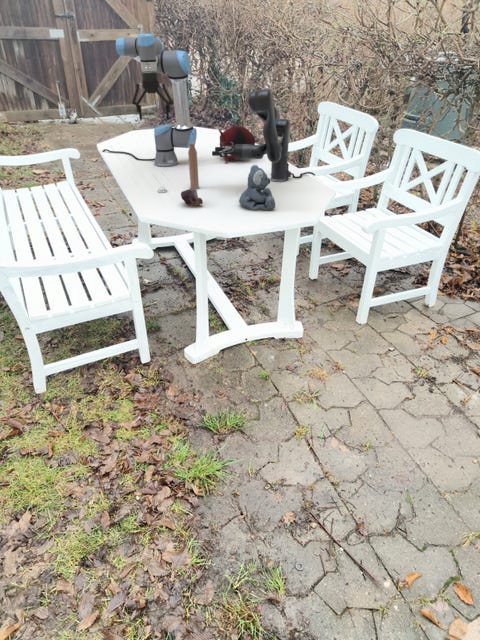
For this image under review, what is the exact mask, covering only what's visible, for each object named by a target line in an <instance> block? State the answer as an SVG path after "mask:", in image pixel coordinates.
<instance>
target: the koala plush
mask: <svg viewBox="0 0 480 640" xmlns="http://www.w3.org/2000/svg"><path fill="white" fill-rule="evenodd" d="M270 183H271V178H269V176H268V175H267V173H266V172H265V170H264V169H263V168H261V167H259V165H257V164H253V165H250V170H249V173H248V176H247V188H246V189H245V190H244V191H243V192H242V193H241V194H240V197H239V199H238V203H239V204H240V206H241V207H242V208H246V209H247V210H252V211H255V210H261V211H272V210H274V209H275V208H276V200H275V198H274V196H273V194H272V191H271V188H270V187H268V186H269V185H270Z"/></svg>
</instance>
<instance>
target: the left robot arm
mask: <svg viewBox="0 0 480 640" xmlns="http://www.w3.org/2000/svg"><path fill="white" fill-rule="evenodd" d="M115 51H116V54H117V55H118V56H120V57H121V56H122V57H129V58H130V59H133V60H135V61H136V62H138V63H140V70H141V72H142V73H141V78H142V83H139V82H137V83H136V84H135V85H136V89H135V92H134V95H133V99H132V102H131V104H132V105H134V106H135V107H136V113H138V114H139V121H142V120H143V114H142V105H141V102H142V100H143V99H144V97H145V96H146V94H148V95H149V94H157V95H158V96H159V97H160V98H161V99H162V101H164V103H165V112H166V113H165V114H166V120H170V117H169V116H170V114H169V113H171V105H173V107H174V114H175V123H174V126H173V125H172V124H163V125H159V126H156V127H155V128H154V129H153V133H154V134H153V136H154V145H155V155H154V158H140V157H139V158H138V157H137V156H135V155H134V154H133V153H131V152H127V151H122V150H121V151H120V150H119V151H116V150H115V151H114V150H109V149H106V148H104V149H103V150H102V153H104V152H106V151H107V152H109V153H113V154H114V153H116V154H126V155H130V156H131V157H133V158H134V159H135V160H137V161H154V165H155V166H157V167H163V168H164V167H165V168H167V167H168V168H169V167H174V166H177V165H178V164H179V159H178V157H177V153H176V151H175V148H177V149H178V148H181V149H189V148H190V147H189V143H195V144H196V142H197V138H198V137H197V136H198V135H197V134H198V133H197V131H198V130H197V128H195V127H194V124H193V123H192V122H191V116H190V108H189V107H190V106H189V96H188V87H187V85H188V84H187V80H188V78H189V75H190V74H191V71H192V70H191V69H192V68H191V67H192V66H191V60H190V57H189V54H188V52H186V51H185V50H180V49H175V50H174V49H172V50H169V49H168V50H164V44H163V42H162V40H161V39H160V38H158V37H155V36H154V34H153V33H139V34H138V35H137V37H118V38H117V39H116V40H115ZM158 74H160V75H161V74H162V75H167V79H168V80H169V81H170V82H171V89H172V90H171V91H172V96H171V94H170V92H169V91H168V89H167V87H166V82H161V83H160V82H159V75H158ZM142 88H143V92H142V94H141V95H140V97H139V98H138V95H139V92H140V89H142ZM159 88H161V89H163V92H164V93H165V95H164V94H163V93H162V92H161V90H160V89H159ZM137 98H138V99H137Z"/></svg>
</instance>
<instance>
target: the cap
mask: <svg viewBox="0 0 480 640" xmlns="http://www.w3.org/2000/svg"><path fill="white" fill-rule="evenodd" d="M157 190H158V193H161V194H163V193H166V192H167V187H164V186H160V187H158V188H157Z"/></svg>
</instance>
